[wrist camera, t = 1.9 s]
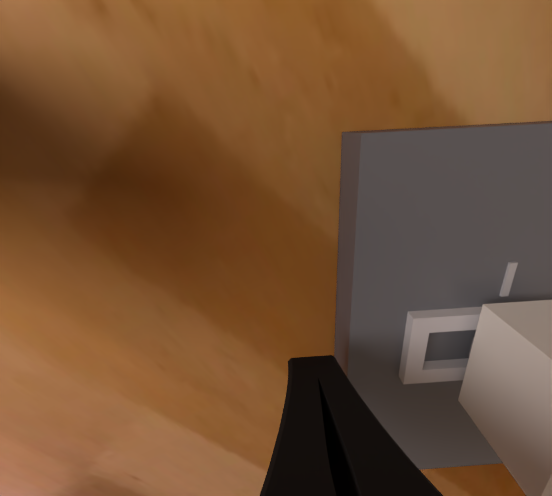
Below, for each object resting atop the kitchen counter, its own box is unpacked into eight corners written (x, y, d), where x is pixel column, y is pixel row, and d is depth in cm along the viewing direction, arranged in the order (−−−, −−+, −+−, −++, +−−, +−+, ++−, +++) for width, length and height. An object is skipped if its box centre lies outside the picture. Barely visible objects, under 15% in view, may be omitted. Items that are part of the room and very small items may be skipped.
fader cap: (515, 386, 11) (631, 504, 7) (451, 390, 11) (538, 512, 7) (548, 292, 9) (714, 388, 6) (473, 297, 9) (597, 396, 6)
